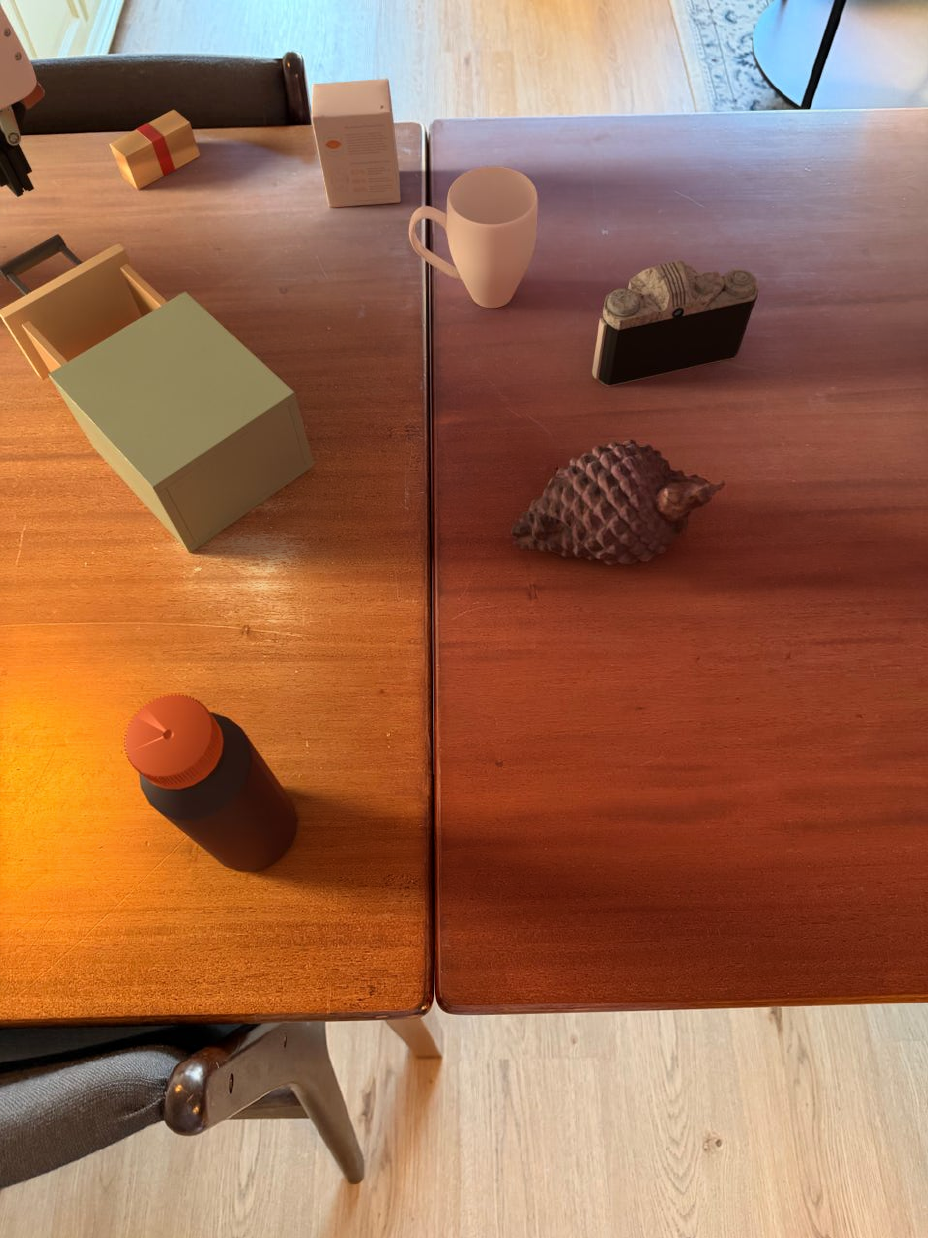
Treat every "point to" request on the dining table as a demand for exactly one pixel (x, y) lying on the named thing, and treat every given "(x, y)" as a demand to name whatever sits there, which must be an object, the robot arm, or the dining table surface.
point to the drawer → (74, 304)
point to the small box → (356, 142)
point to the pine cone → (613, 506)
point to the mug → (485, 232)
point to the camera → (672, 322)
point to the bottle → (211, 782)
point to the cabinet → (187, 419)
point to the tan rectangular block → (155, 149)
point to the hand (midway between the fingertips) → (18, 184)
